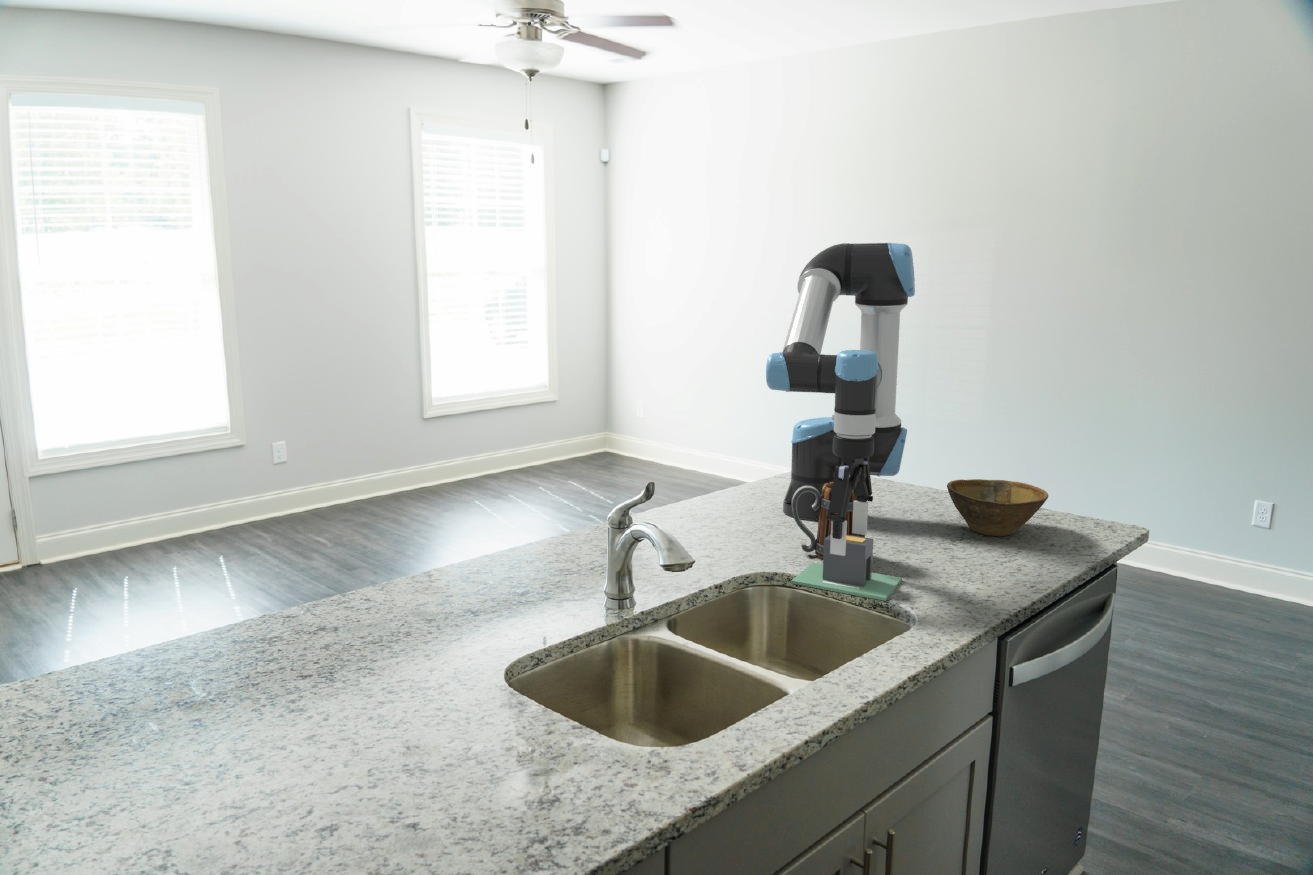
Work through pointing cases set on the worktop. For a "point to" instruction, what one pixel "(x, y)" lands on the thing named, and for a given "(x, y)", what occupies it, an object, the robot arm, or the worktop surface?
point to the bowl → (995, 504)
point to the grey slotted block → (849, 561)
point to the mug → (821, 517)
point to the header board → (874, 588)
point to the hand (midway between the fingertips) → (848, 543)
